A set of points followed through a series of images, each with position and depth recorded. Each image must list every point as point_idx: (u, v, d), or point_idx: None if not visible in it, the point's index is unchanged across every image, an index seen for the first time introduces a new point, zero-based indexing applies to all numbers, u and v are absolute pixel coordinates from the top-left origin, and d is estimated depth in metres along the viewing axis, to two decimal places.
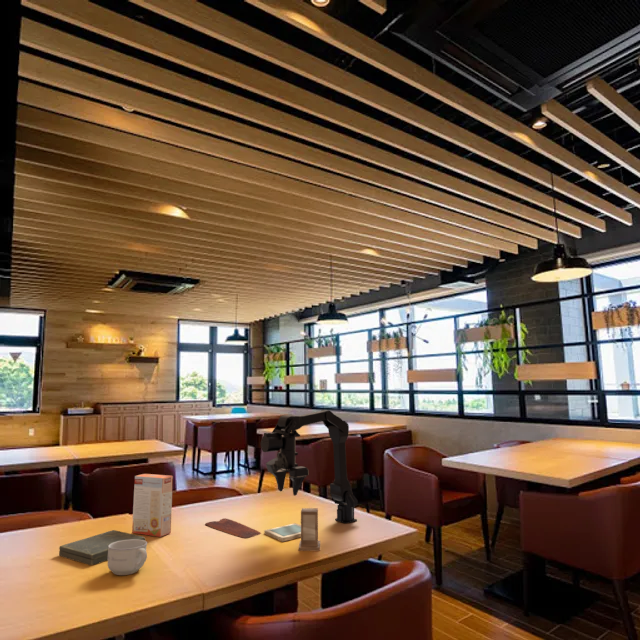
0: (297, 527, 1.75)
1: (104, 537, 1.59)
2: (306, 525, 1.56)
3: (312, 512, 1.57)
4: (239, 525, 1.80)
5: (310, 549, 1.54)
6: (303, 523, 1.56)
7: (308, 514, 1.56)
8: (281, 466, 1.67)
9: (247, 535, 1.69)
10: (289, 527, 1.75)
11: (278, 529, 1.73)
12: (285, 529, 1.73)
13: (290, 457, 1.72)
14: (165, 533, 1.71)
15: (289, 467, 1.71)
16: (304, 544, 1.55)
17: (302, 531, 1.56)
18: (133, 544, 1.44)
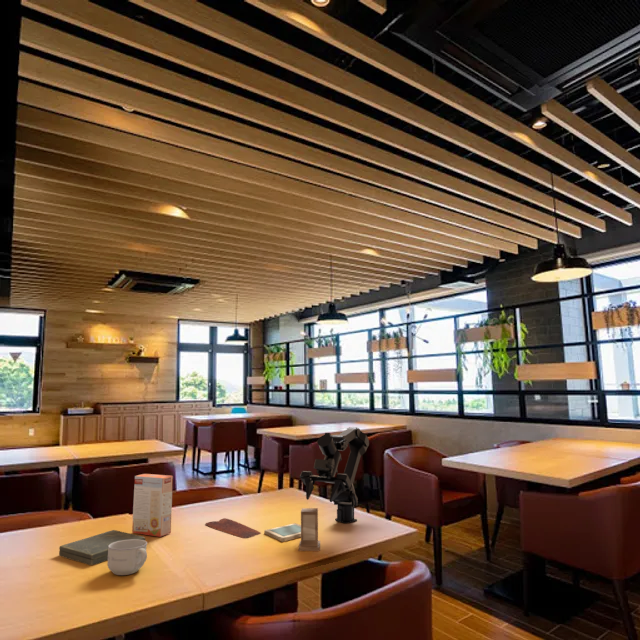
0: (297, 527, 1.75)
1: (104, 537, 1.59)
2: (306, 525, 1.56)
3: (312, 512, 1.57)
4: (239, 525, 1.80)
5: (310, 549, 1.54)
6: (303, 523, 1.56)
7: (308, 514, 1.56)
8: (332, 466, 1.69)
9: (247, 535, 1.69)
10: (289, 527, 1.75)
11: (278, 529, 1.73)
12: (285, 529, 1.73)
13: (335, 468, 1.75)
14: (165, 533, 1.71)
15: (331, 475, 1.72)
16: (304, 544, 1.55)
17: (302, 531, 1.56)
18: (133, 544, 1.44)
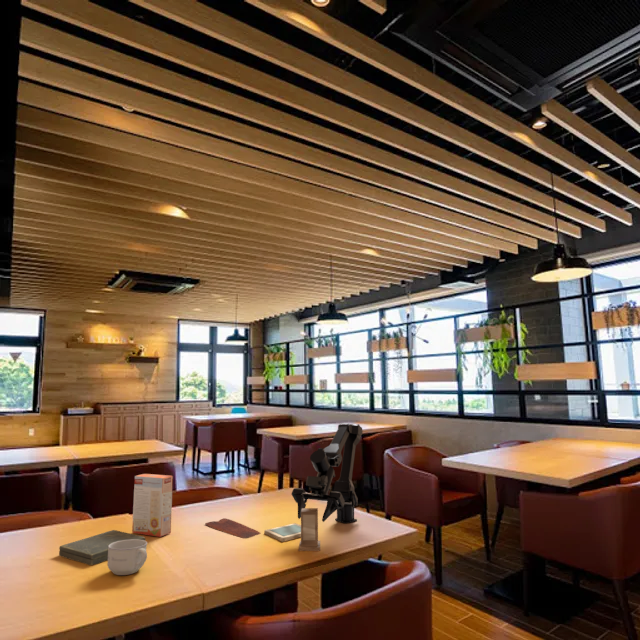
0: (297, 527, 1.75)
1: (104, 537, 1.59)
2: (306, 525, 1.56)
3: (312, 512, 1.57)
4: (239, 525, 1.80)
5: (310, 549, 1.54)
6: (303, 523, 1.56)
7: (307, 514, 1.56)
8: (325, 483, 1.62)
9: (247, 535, 1.69)
10: (289, 527, 1.75)
11: (278, 529, 1.73)
12: (285, 529, 1.73)
13: (328, 485, 1.68)
14: (165, 533, 1.71)
15: (324, 493, 1.65)
16: (304, 544, 1.55)
17: (302, 531, 1.56)
18: (133, 544, 1.44)
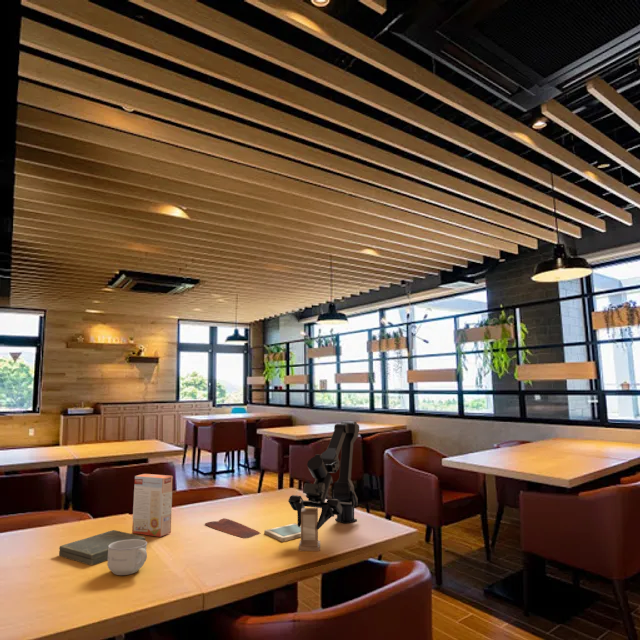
0: (297, 527, 1.75)
1: (104, 537, 1.59)
2: (306, 525, 1.56)
3: (312, 512, 1.57)
4: (239, 525, 1.80)
5: (310, 549, 1.54)
6: (303, 523, 1.56)
7: (307, 514, 1.57)
8: (323, 490, 1.60)
9: (247, 535, 1.69)
10: (289, 527, 1.75)
11: (278, 529, 1.73)
12: (285, 529, 1.73)
13: (325, 492, 1.65)
14: (165, 533, 1.71)
15: (322, 500, 1.62)
16: (304, 544, 1.55)
17: (302, 531, 1.56)
18: (133, 544, 1.44)
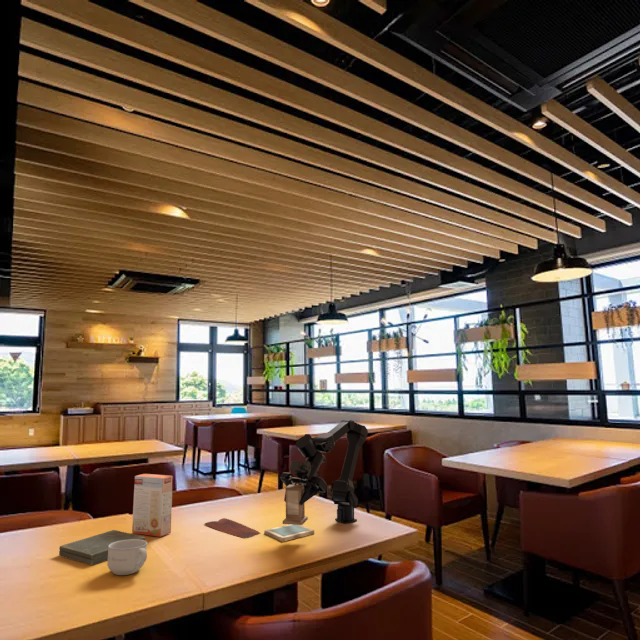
0: (297, 527, 1.75)
1: (104, 537, 1.59)
2: (290, 500, 1.63)
3: (296, 488, 1.63)
4: (238, 525, 1.80)
5: (293, 523, 1.61)
6: (287, 498, 1.63)
7: (291, 490, 1.63)
8: (307, 468, 1.66)
9: (247, 535, 1.69)
10: (289, 527, 1.75)
11: (278, 529, 1.73)
12: (285, 529, 1.73)
13: (314, 471, 1.70)
14: (165, 533, 1.71)
15: (308, 478, 1.68)
16: (288, 518, 1.62)
17: (286, 506, 1.63)
18: (133, 544, 1.44)
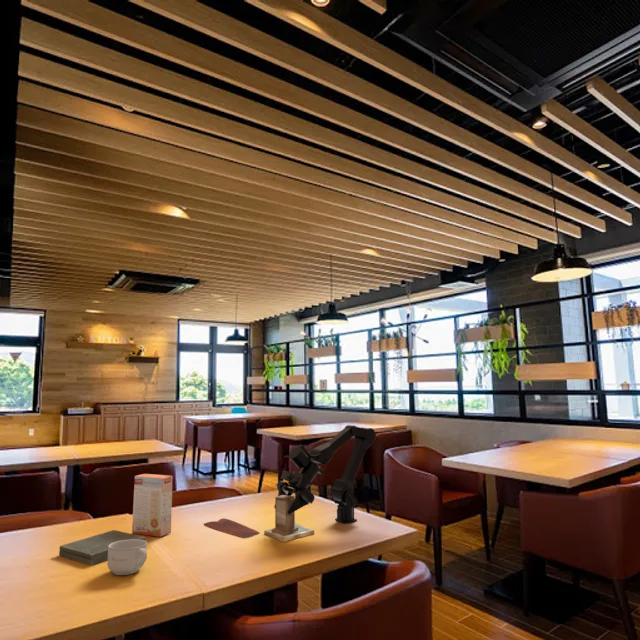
0: None
1: (104, 537, 1.59)
2: (279, 510, 1.70)
3: (283, 499, 1.70)
4: (238, 525, 1.80)
5: (280, 532, 1.68)
6: (276, 508, 1.71)
7: (280, 500, 1.71)
8: (295, 478, 1.71)
9: (246, 535, 1.69)
10: None
11: None
12: None
13: (305, 481, 1.75)
14: (165, 533, 1.71)
15: (299, 488, 1.74)
16: (277, 527, 1.70)
17: (276, 515, 1.71)
18: (133, 544, 1.44)
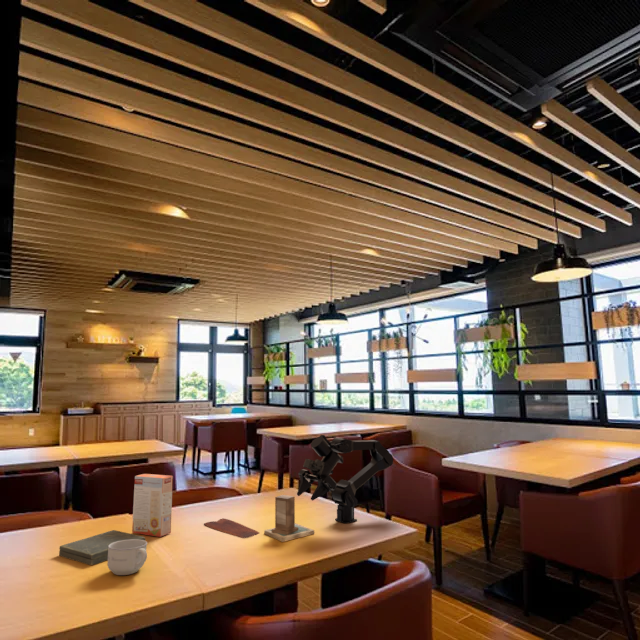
0: None
1: (104, 537, 1.59)
2: (279, 510, 1.70)
3: (283, 499, 1.70)
4: (238, 525, 1.80)
5: (280, 532, 1.68)
6: (276, 508, 1.71)
7: (280, 500, 1.71)
8: (318, 466, 1.78)
9: (246, 535, 1.69)
10: None
11: None
12: None
13: (327, 469, 1.82)
14: (165, 533, 1.71)
15: (321, 476, 1.80)
16: (277, 527, 1.70)
17: (276, 515, 1.71)
18: (134, 544, 1.44)
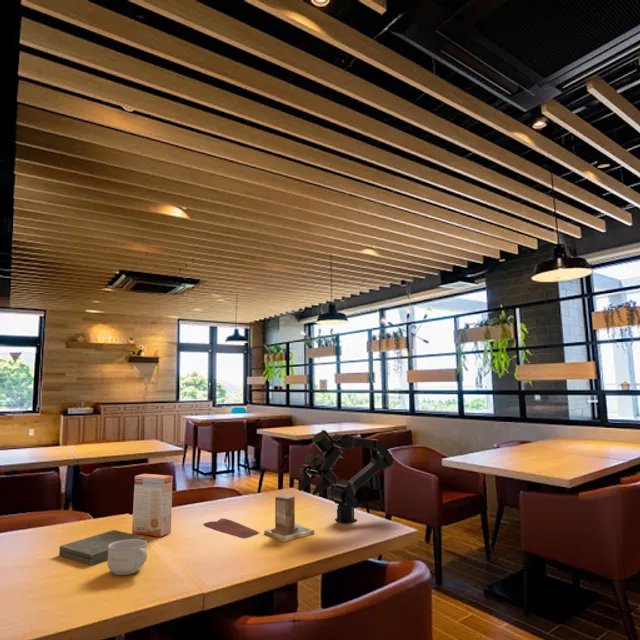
0: None
1: (104, 537, 1.59)
2: (279, 510, 1.70)
3: (283, 499, 1.70)
4: (238, 525, 1.80)
5: (280, 532, 1.68)
6: (276, 508, 1.71)
7: (280, 500, 1.71)
8: (319, 461, 1.78)
9: (246, 535, 1.69)
10: None
11: None
12: None
13: (328, 464, 1.83)
14: (165, 533, 1.71)
15: (322, 471, 1.81)
16: (277, 527, 1.70)
17: (276, 515, 1.71)
18: (134, 544, 1.44)
